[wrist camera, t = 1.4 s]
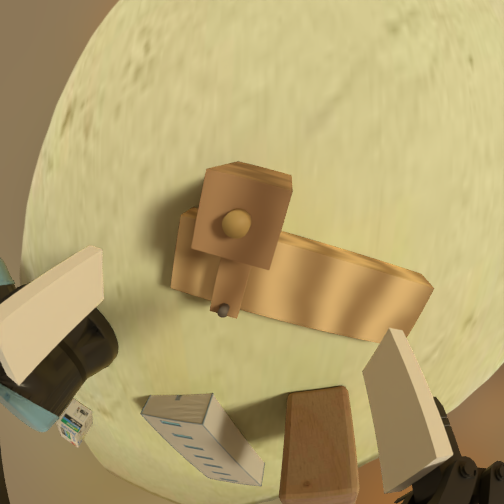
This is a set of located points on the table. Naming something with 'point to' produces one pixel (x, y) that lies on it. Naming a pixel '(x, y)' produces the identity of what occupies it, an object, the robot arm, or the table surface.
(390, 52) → the table surface
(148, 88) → the table surface
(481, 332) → the table surface
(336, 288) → the plank
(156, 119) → the table surface
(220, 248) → the wooden box
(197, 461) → the warehouse
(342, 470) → the wooden block
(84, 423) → the light bulb box
